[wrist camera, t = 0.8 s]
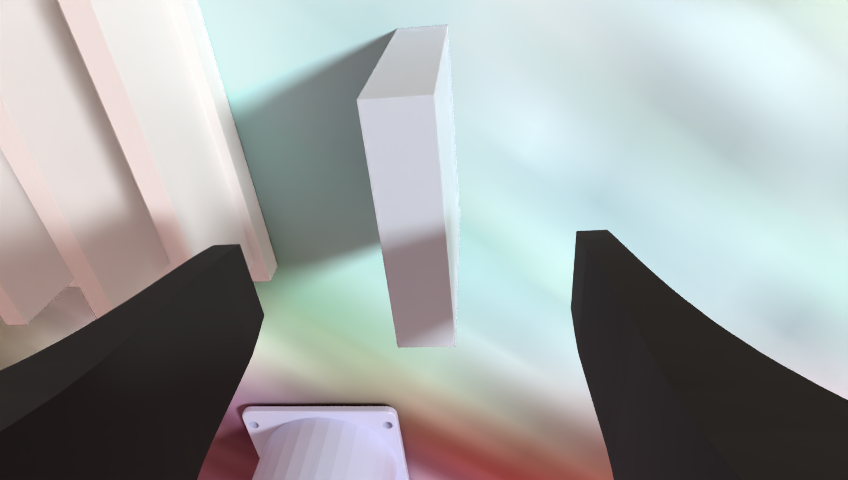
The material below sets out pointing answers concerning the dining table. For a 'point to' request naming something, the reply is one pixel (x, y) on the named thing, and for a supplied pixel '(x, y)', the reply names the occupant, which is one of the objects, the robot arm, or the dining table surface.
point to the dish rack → (114, 152)
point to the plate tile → (415, 182)
